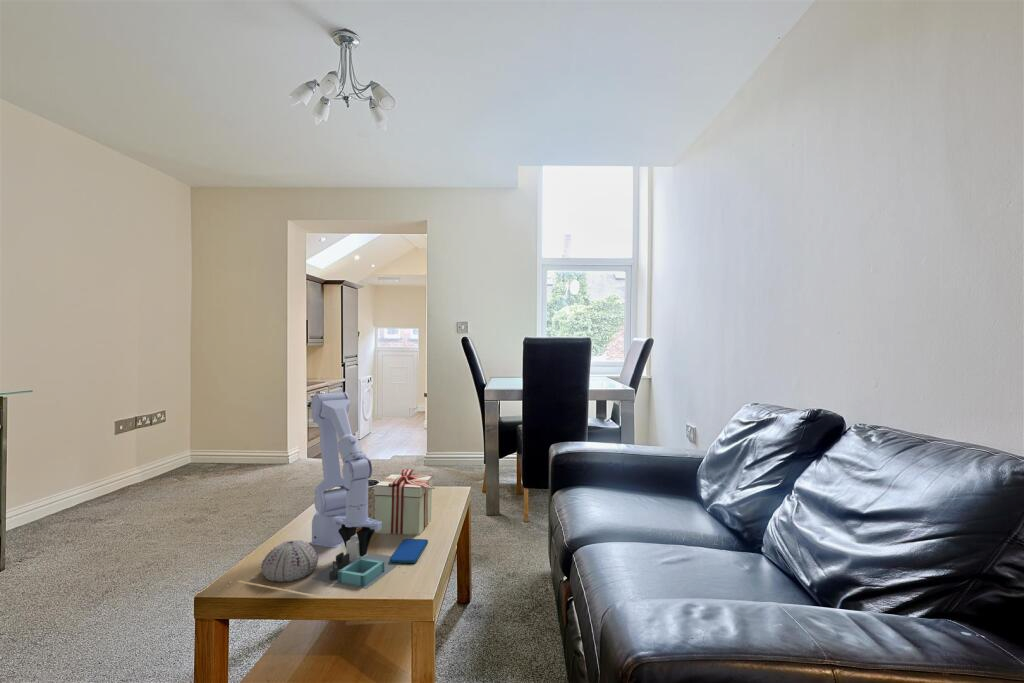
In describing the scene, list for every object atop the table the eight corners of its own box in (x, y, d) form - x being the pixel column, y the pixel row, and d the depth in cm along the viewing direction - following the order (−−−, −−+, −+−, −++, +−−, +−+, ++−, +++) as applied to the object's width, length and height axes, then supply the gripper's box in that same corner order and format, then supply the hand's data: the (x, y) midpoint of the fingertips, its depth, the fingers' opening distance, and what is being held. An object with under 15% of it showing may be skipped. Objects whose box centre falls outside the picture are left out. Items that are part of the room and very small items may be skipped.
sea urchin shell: (326, 562, 133) (326, 532, 133) (305, 586, 120) (305, 553, 120) (276, 562, 133) (277, 532, 133) (250, 586, 120) (250, 553, 120)
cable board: (311, 580, 122) (311, 565, 122) (356, 552, 139) (356, 539, 139) (366, 590, 117) (366, 575, 117) (406, 560, 134) (406, 546, 134)
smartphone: (388, 559, 131) (404, 538, 146) (388, 563, 131) (404, 542, 146) (416, 560, 131) (428, 539, 146) (416, 564, 131) (428, 542, 146)
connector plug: (346, 560, 133) (346, 537, 133) (356, 553, 137) (356, 532, 137) (357, 562, 132) (357, 539, 132) (367, 555, 136) (367, 533, 136)
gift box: (432, 536, 151) (432, 479, 152) (372, 536, 152) (372, 479, 152) (441, 517, 168) (441, 466, 169) (387, 517, 169) (387, 466, 169)
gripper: (325, 505, 133) (324, 556, 133) (371, 510, 129) (370, 563, 129) (342, 497, 140) (342, 546, 140) (386, 502, 135) (386, 553, 135)
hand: (356, 553), depth 135 cm, fingers closed on connector plug, 3 cm apart
